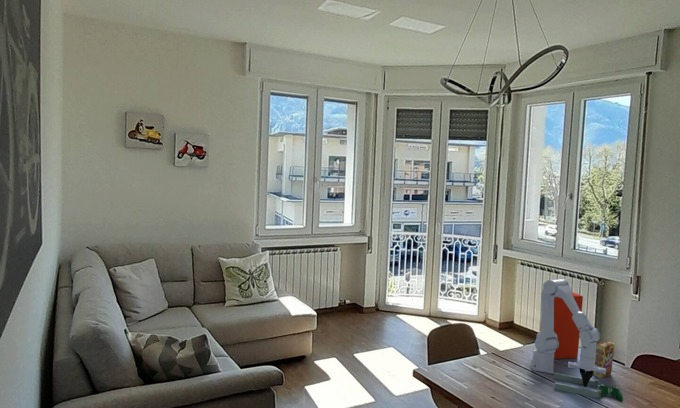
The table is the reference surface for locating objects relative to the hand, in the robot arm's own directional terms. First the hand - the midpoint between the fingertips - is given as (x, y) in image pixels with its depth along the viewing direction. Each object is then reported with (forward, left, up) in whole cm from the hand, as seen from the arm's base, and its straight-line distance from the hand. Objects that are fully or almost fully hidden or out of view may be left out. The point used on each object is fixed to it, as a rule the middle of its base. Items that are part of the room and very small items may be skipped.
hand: (584, 386), depth 211 cm
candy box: (+9, +21, -2) cm, 23 cm away
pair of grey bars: (-3, 0, -1) cm, 4 cm away
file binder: (-10, +36, -2) cm, 37 cm away
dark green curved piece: (+9, -2, -2) cm, 10 cm away
